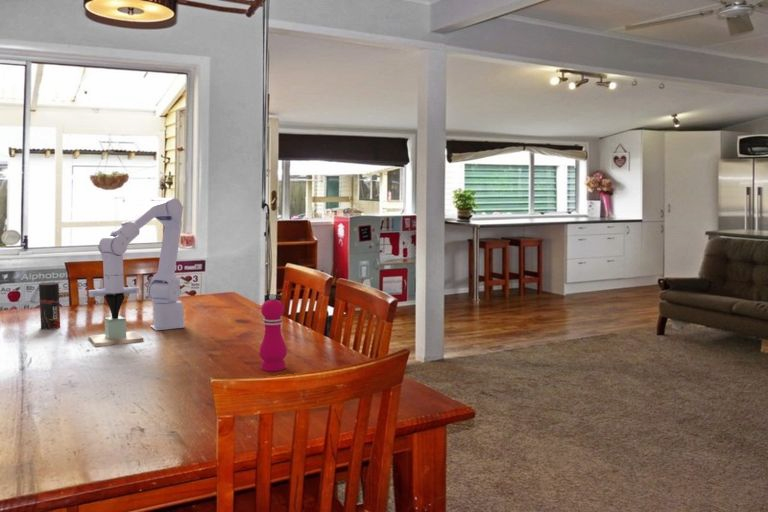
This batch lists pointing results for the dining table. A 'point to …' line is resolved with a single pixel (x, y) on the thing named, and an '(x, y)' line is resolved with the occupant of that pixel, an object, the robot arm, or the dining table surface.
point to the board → (102, 340)
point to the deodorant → (49, 305)
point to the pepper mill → (272, 336)
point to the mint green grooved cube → (115, 327)
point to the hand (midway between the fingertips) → (115, 318)
